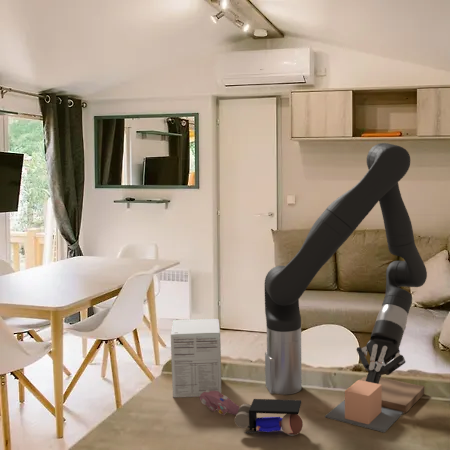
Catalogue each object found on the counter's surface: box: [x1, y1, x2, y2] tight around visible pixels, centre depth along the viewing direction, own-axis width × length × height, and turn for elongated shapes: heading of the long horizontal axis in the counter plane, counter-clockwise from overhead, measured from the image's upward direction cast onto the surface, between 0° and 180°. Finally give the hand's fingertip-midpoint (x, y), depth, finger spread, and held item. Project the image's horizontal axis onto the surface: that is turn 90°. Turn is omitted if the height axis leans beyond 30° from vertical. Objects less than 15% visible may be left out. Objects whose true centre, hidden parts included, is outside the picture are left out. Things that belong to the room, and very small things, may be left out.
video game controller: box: [199, 390, 240, 416], centre depth 160 cm, size 10×5×7 cm
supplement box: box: [170, 318, 222, 398], centre depth 175 cm, size 13×13×18 cm
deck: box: [359, 376, 425, 414], centre depth 167 cm, size 14×16×2 cm
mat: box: [324, 399, 404, 433], centre depth 156 cm, size 12×15×1 cm
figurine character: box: [234, 398, 304, 437], centre depth 148 cm, size 7×8×15 cm
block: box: [344, 379, 382, 424], centre depth 155 cm, size 7×6×8 cm
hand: (370, 386), depth 159 cm, fingers closed
